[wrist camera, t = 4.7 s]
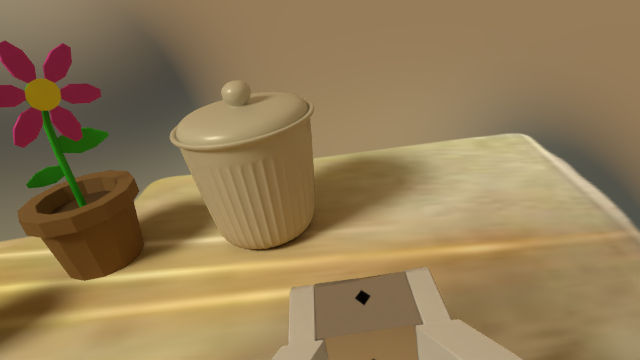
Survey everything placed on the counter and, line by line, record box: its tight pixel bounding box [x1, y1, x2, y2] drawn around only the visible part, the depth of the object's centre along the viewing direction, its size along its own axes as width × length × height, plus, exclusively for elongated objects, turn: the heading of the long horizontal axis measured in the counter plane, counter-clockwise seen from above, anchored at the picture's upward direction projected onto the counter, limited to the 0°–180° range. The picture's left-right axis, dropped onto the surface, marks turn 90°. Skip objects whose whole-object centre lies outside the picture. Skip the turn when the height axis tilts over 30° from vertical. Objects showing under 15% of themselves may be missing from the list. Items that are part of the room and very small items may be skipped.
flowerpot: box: [0, 41, 144, 281], centre depth 54 cm, size 14×14×30 cm
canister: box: [170, 80, 315, 249], centre depth 55 cm, size 18×18×21 cm
